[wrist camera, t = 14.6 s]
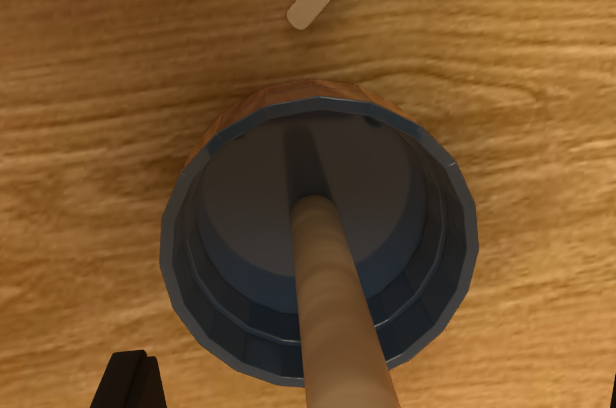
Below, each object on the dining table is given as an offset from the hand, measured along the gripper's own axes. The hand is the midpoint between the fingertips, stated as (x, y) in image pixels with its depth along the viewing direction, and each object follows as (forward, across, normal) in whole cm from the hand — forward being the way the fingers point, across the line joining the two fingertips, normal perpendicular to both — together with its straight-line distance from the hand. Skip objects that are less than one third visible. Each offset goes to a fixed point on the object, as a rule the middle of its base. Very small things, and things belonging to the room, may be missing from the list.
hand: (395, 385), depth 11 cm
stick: (+7, +1, +2) cm, 7 cm away
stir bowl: (+15, +1, +2) cm, 15 cm away
